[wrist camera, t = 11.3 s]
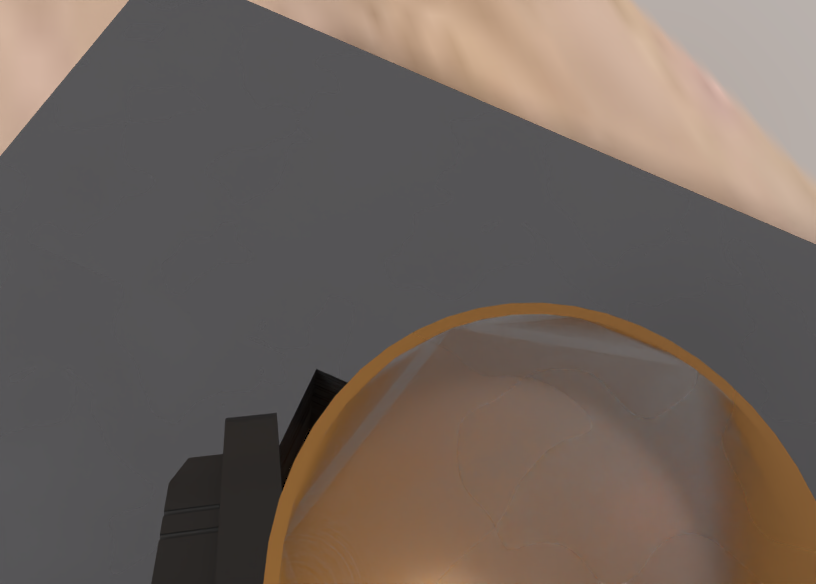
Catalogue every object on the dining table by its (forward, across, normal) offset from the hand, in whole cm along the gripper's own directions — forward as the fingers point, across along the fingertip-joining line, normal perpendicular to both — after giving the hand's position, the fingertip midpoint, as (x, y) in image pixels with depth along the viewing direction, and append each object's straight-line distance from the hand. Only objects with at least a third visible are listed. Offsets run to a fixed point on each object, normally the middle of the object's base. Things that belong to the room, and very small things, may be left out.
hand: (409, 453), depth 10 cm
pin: (+2, 0, +5) cm, 5 cm away
